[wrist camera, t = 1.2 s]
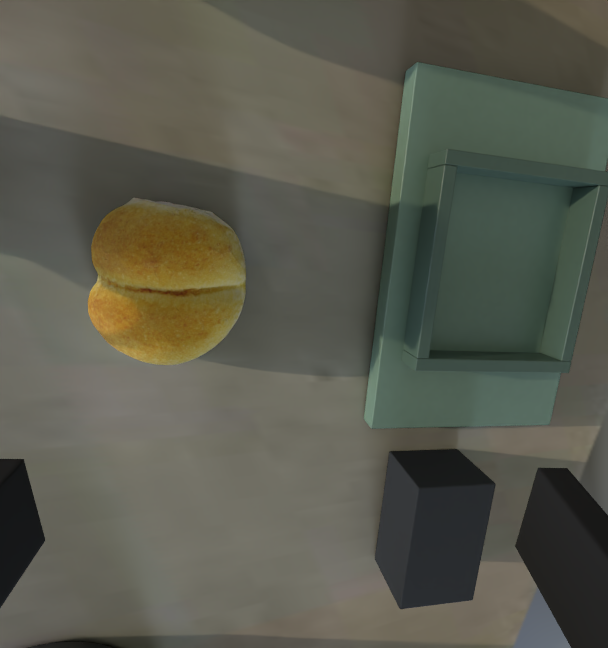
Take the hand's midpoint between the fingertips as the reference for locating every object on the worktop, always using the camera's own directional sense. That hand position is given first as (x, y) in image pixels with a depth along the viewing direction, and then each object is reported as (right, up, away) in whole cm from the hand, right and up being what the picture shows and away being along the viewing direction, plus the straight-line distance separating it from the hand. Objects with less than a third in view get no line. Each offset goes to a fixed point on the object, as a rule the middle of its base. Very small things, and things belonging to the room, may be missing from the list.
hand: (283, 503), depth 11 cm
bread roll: (-7, +7, +14) cm, 17 cm away
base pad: (+12, +9, +17) cm, 23 cm away
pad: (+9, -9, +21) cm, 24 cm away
